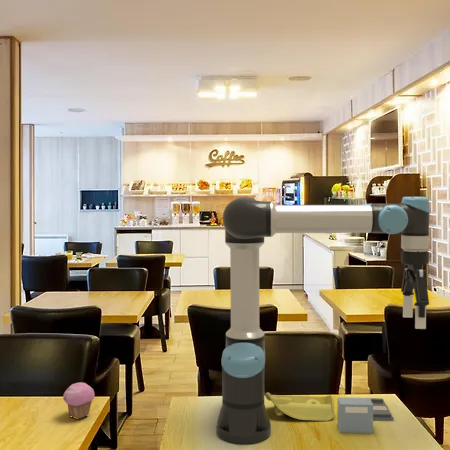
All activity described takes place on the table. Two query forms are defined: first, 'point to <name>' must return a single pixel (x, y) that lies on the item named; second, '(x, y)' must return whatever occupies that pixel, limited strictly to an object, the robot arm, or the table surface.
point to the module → (355, 415)
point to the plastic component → (303, 406)
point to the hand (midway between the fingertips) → (413, 322)
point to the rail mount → (381, 410)
